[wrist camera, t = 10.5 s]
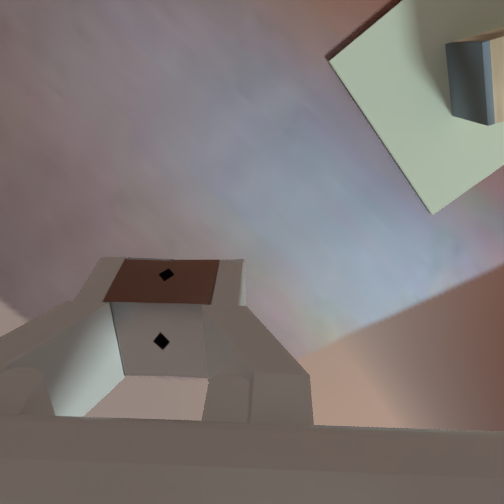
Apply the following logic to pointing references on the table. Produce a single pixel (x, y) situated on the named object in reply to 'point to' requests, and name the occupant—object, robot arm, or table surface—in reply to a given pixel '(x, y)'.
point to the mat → (423, 94)
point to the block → (477, 77)
